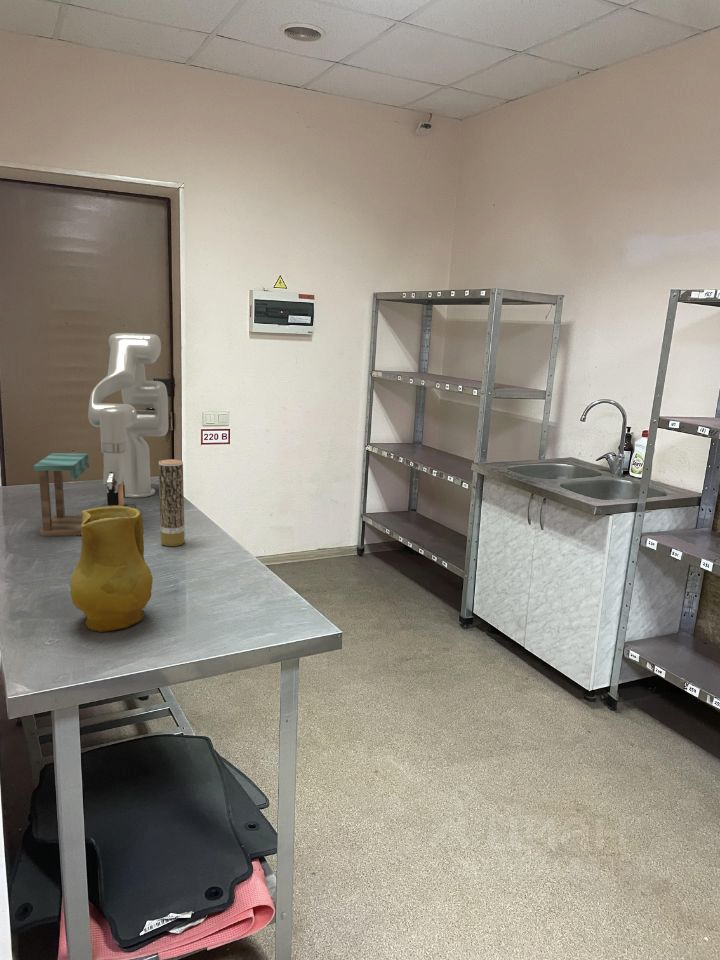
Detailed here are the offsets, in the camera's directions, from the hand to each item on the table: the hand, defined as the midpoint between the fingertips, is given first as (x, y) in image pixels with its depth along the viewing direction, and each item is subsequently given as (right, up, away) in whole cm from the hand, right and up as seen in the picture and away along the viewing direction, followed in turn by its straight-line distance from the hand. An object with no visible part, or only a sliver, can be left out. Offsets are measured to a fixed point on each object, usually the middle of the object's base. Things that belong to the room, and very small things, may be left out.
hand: (116, 500), depth 214 cm
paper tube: (+21, -13, -10) cm, 26 cm away
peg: (0, -7, +2) cm, 7 cm away
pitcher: (+22, -25, -61) cm, 70 cm away
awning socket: (-8, -9, +1) cm, 12 cm away
